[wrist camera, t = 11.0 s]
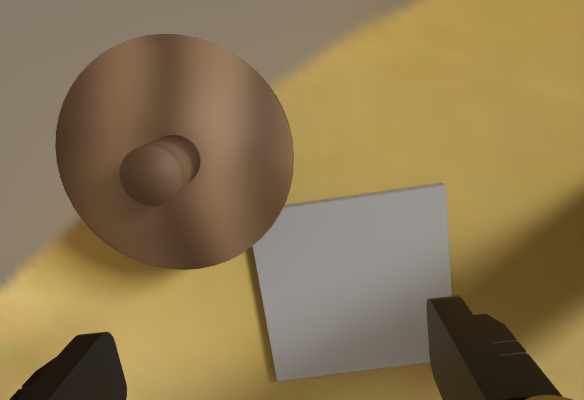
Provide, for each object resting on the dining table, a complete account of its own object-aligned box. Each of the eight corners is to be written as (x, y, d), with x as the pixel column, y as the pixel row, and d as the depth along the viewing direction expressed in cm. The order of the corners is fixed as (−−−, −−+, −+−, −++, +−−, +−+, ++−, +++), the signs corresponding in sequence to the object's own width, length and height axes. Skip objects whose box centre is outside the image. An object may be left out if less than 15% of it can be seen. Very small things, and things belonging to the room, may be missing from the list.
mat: (442, 182, 35) (445, 185, 35) (452, 353, 39) (455, 359, 39) (247, 210, 36) (246, 213, 35) (277, 375, 40) (277, 381, 39)
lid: (273, 17, 26) (268, -2, 21) (308, 246, 30) (312, 286, 24) (35, 56, 27) (-38, 49, 21) (99, 276, 31) (53, 322, 25)
